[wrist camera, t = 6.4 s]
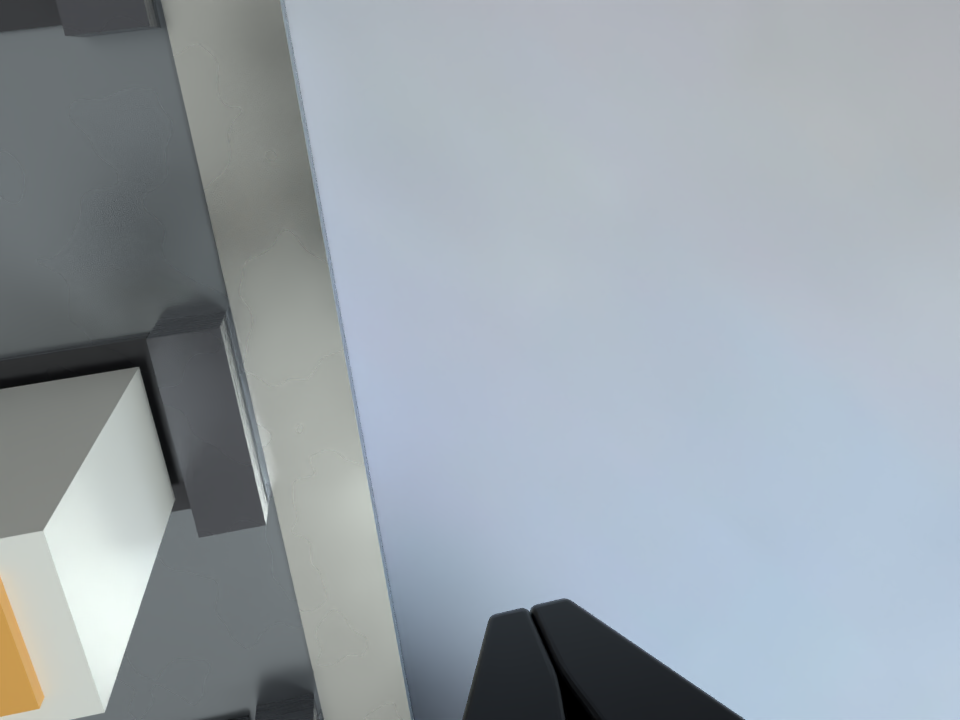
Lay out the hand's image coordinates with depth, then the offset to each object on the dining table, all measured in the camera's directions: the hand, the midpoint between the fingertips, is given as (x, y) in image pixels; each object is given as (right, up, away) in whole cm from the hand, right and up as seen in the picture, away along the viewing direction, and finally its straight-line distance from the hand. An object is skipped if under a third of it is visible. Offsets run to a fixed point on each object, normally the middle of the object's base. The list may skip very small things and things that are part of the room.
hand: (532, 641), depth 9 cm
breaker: (-8, +1, +6) cm, 10 cm away
